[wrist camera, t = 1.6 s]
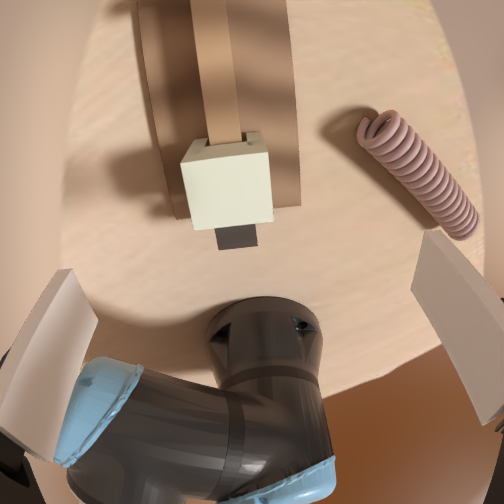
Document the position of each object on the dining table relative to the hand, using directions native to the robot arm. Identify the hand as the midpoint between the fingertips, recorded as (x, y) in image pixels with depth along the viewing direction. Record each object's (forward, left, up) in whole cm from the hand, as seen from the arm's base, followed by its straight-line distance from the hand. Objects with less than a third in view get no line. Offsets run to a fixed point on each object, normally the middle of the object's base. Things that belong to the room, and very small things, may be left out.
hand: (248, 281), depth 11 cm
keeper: (-1, +1, -18) cm, 18 cm away
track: (+5, +1, -19) cm, 19 cm away
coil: (-4, -18, -19) cm, 27 cm away
